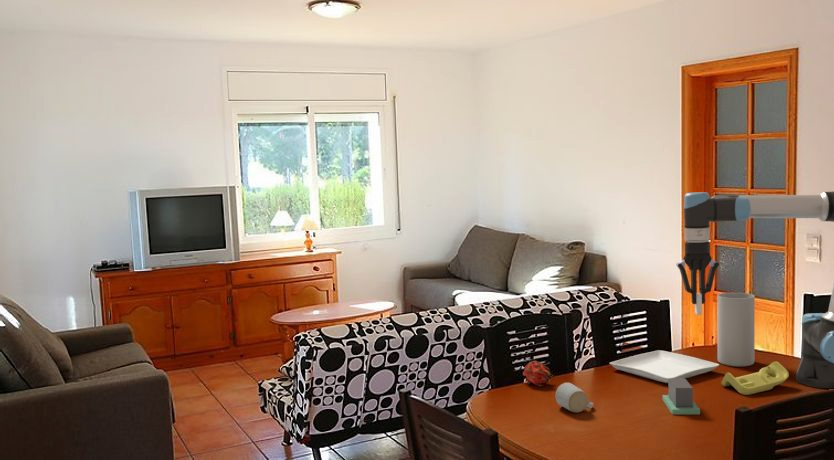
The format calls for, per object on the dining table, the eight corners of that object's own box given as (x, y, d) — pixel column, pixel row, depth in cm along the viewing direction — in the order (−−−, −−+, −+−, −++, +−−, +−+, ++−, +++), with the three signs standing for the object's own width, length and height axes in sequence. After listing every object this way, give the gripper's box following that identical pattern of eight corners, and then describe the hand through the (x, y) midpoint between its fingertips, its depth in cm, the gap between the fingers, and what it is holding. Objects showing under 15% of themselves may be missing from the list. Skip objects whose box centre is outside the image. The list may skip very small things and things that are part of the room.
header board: (688, 399, 241) (688, 384, 240) (700, 414, 227) (700, 398, 226) (662, 399, 242) (662, 384, 241) (672, 414, 228) (672, 398, 227)
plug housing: (665, 393, 243) (665, 374, 243) (681, 393, 243) (681, 374, 242) (675, 407, 229) (675, 387, 229) (692, 407, 229) (692, 387, 228)
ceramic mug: (569, 415, 230) (569, 390, 230) (554, 407, 238) (554, 383, 237) (599, 410, 234) (599, 386, 234) (583, 403, 242) (583, 379, 241)
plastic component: (745, 389, 241) (724, 369, 249) (739, 407, 245) (719, 386, 253) (795, 377, 247) (773, 357, 255) (788, 394, 251) (767, 374, 259)
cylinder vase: (751, 368, 272) (751, 299, 269) (714, 364, 278) (714, 297, 276) (757, 360, 282) (757, 293, 280) (721, 356, 289) (721, 291, 287)
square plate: (659, 358, 291) (659, 348, 291) (721, 374, 268) (721, 363, 268) (608, 371, 277) (608, 360, 277) (669, 388, 254) (668, 377, 254)
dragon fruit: (526, 383, 270) (550, 396, 260) (512, 373, 265) (535, 386, 255) (538, 362, 271) (562, 374, 261) (525, 352, 266) (548, 364, 257)
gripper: (679, 243, 240) (680, 316, 242) (721, 241, 239) (722, 315, 241) (673, 240, 247) (674, 312, 249) (714, 238, 246) (715, 310, 248)
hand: (698, 313), depth 245 cm, fingers closed
